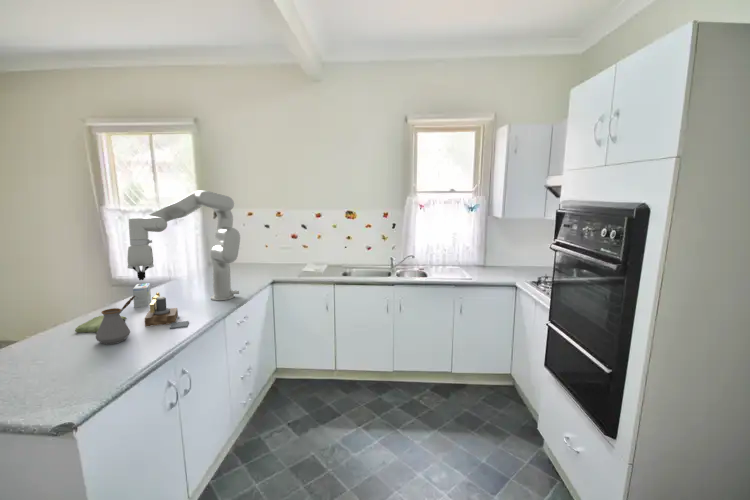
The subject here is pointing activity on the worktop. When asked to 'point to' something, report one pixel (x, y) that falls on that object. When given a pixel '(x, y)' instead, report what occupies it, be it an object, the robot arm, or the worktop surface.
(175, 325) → the pad
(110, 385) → the worktop surface
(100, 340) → the coffee pot
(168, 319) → the socket block
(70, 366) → the worktop surface
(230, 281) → the robot arm
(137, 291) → the light bulb box
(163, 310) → the plug
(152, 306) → the clip
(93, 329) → the washcloth
